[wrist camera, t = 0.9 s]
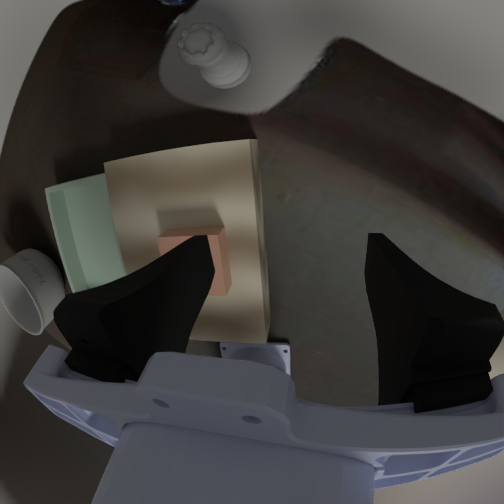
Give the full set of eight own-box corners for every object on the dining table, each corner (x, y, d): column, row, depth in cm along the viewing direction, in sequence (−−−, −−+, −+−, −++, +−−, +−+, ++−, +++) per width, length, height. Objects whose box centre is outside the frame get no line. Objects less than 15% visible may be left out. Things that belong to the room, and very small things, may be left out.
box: (154, 307, 32) (143, 321, 29) (93, 301, 34) (80, 313, 31) (124, 168, 26) (107, 173, 23) (61, 183, 28) (44, 188, 25)
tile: (232, 283, 24) (226, 295, 22) (178, 282, 25) (169, 293, 23) (224, 226, 22) (217, 234, 20) (167, 229, 23) (156, 237, 21)
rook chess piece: (193, 67, 21) (151, 45, 14) (230, 36, 20) (201, 0, 12) (224, 99, 22) (190, 84, 15) (263, 67, 20) (246, 37, 13)
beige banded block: (270, 319, 30) (266, 343, 26) (160, 314, 32) (145, 334, 28) (257, 139, 23) (249, 139, 19) (127, 158, 25) (103, 162, 22)
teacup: (72, 254, 31) (31, 282, 24) (78, 318, 36) (47, 350, 28) (15, 227, 32) (-22, 246, 25) (23, 285, 36) (-8, 308, 29)
